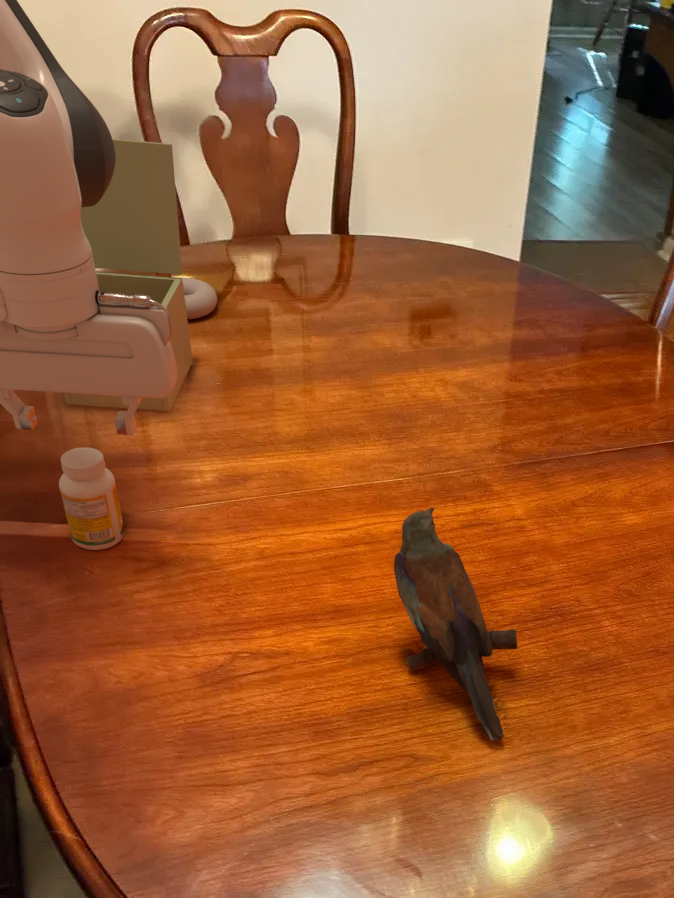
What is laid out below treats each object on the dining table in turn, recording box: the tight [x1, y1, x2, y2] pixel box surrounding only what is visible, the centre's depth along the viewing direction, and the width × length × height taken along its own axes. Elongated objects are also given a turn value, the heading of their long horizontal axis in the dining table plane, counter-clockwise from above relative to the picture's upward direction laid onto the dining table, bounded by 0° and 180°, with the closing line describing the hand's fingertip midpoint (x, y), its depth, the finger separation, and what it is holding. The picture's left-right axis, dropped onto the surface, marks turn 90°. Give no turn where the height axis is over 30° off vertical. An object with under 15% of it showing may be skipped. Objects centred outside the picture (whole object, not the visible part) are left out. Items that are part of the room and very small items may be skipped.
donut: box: [181, 277, 218, 320], centre depth 142 cm, size 10×3×10 cm
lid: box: [81, 138, 183, 275], centre depth 116 cm, size 15×13×1 cm
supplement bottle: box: [58, 446, 125, 551], centre depth 98 cm, size 5×5×10 cm
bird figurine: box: [393, 507, 518, 742], centre depth 87 cm, size 13×10×20 cm
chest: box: [62, 270, 194, 412], centre depth 119 cm, size 14×13×13 cm
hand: (77, 429), depth 92 cm, fingers open, 8 cm apart
